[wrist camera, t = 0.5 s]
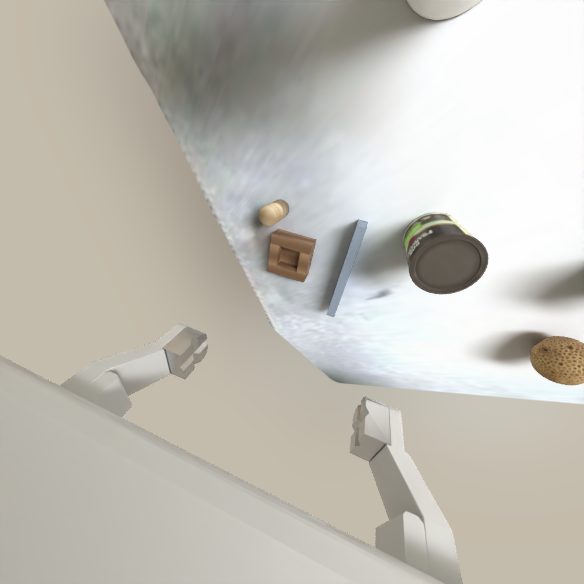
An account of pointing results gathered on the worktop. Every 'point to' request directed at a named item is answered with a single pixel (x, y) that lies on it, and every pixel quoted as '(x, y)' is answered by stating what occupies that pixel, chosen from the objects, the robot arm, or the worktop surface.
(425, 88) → the worktop surface
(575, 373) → the natural sponge
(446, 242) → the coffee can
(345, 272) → the wall
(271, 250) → the block
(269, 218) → the dowel
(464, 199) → the worktop surface
